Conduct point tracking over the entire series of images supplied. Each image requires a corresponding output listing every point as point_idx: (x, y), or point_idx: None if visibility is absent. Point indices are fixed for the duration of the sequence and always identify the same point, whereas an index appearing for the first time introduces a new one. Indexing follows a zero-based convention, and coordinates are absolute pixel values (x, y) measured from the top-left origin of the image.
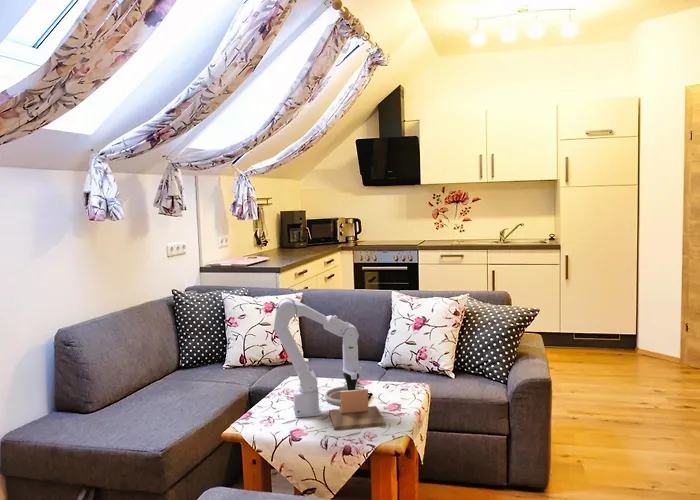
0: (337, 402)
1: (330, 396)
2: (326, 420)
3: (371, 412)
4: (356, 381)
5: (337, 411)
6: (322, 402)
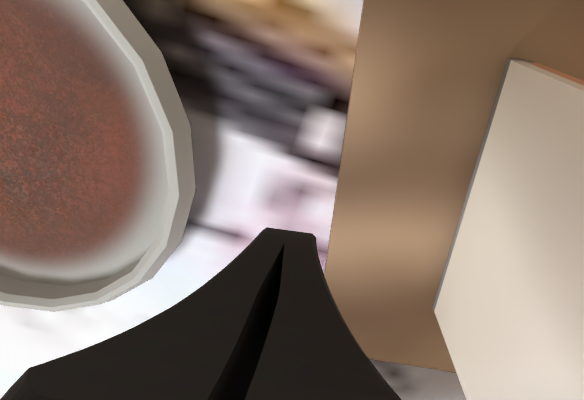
0: (167, 255)
1: (6, 255)
2: (442, 375)
3: (562, 25)
4: (367, 361)
5: (368, 307)
6: (94, 310)
